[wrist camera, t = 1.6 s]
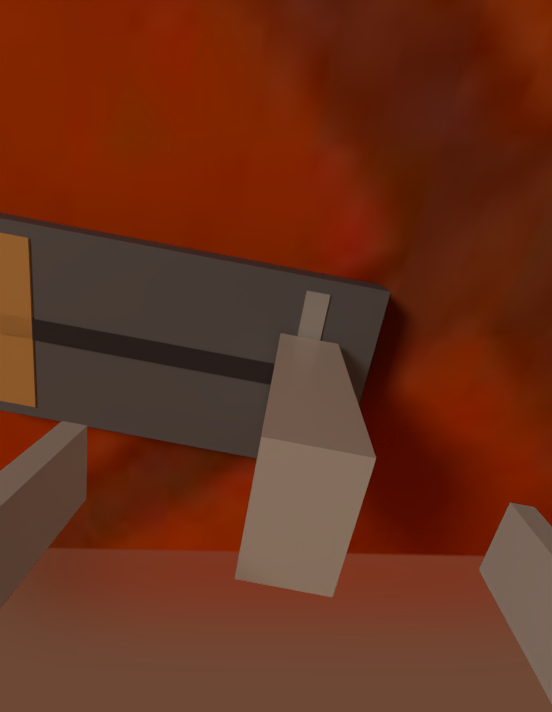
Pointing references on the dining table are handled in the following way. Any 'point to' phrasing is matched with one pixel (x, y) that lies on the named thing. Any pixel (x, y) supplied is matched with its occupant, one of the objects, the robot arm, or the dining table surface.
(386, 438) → the dining table surface
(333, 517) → the block
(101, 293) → the panel
